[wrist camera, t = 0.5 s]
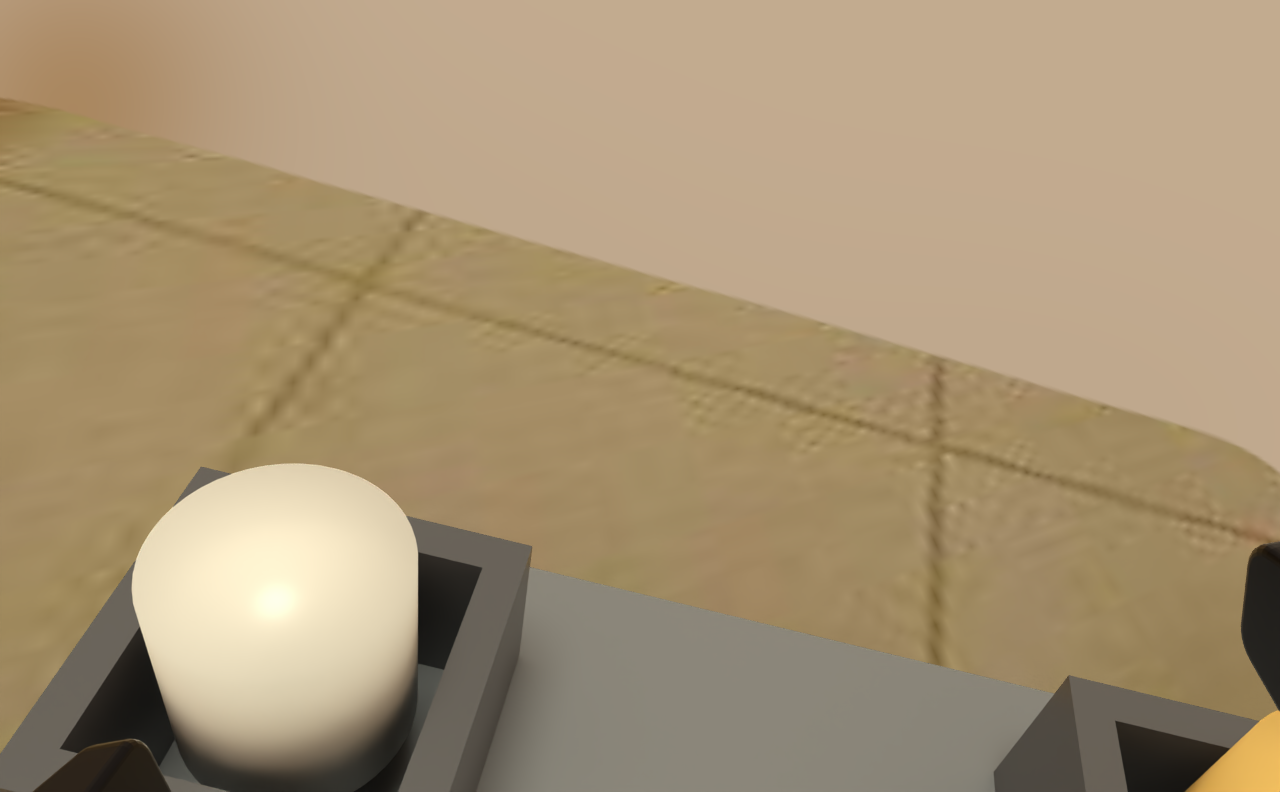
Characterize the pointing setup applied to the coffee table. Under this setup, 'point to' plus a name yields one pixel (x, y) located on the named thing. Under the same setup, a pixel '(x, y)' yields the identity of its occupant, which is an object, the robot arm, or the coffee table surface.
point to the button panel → (656, 701)
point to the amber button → (1247, 762)
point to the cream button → (283, 628)
